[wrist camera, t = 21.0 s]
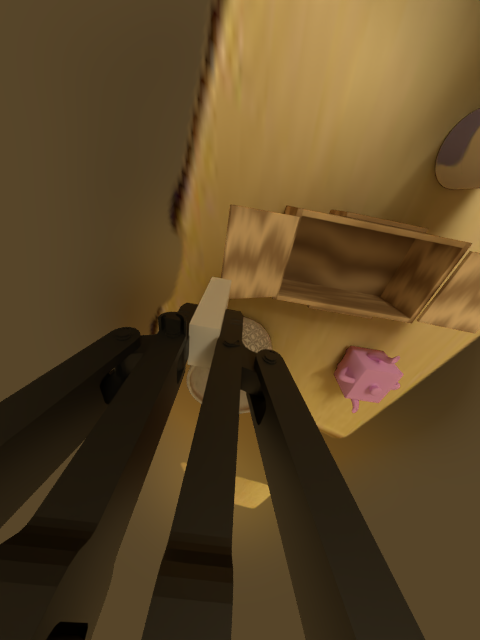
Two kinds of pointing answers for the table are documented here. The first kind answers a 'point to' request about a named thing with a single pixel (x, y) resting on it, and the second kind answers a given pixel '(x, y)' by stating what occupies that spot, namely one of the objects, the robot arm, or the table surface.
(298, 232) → the carton
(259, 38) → the table surface
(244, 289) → the flap
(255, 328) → the planter
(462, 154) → the container
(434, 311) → the flap
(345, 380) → the teapot
